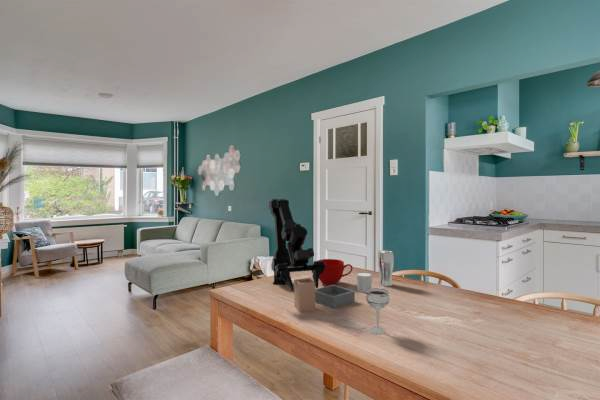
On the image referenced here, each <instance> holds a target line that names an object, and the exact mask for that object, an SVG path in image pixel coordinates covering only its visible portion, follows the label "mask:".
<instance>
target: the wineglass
mask: <svg viewBox="0 0 600 400" xmlns="http://www.w3.org/2000/svg"><path fill="white" fill-rule="evenodd" d="M389 293H390V291H389V290H388V289H385V288H380V287H379V288H377V287H371V289H368V290H367V295H366V296H365V299H366V302H367V304H368V305H369V306H370V307H371V308H373V309H374V310H376V311H375V312H376V326H373V327H370V328H369V329H368V330H369V332H370V333H371V334H375V335H383V334H385V333H387V330H386V329H385V328H383V327H379V321H380V320H379V319H380V310H382V309H384V308H386V306H388V304H389V302H390V296H389Z"/></svg>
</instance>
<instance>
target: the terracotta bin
mask: <svg viewBox="0 0 600 400" xmlns="http://www.w3.org/2000/svg"><path fill="white" fill-rule="evenodd" d="M293 281H294V282H293V283H294V284H293V288H294V291H293V292H294V293H293V294H294V297H293V299H294V300H293V301H294V307H295V309H296V310H297V312H299V313H302V312H309V311H310V312H311V311H316V302H315V289H316V287H315V282H314V280H313V279H311V278H310V277H309V278H298V279H296V278H295V279H294V280H293Z"/></svg>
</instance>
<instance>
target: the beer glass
mask: <svg viewBox="0 0 600 400" xmlns="http://www.w3.org/2000/svg"><path fill="white" fill-rule="evenodd" d="M394 257H395V256H394V251H392V250H386V249H385V250H384V249H382V250H378V252H377V268H378V273H379V281H378V285H379V286H381V287H392V286H393V283H394V282H393V272H394V271H393V270H394V264H395V262H394Z"/></svg>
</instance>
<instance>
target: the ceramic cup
mask: <svg viewBox="0 0 600 400" xmlns="http://www.w3.org/2000/svg"><path fill="white" fill-rule="evenodd" d="M317 261H324V262H325V265H326V267H325V269H324V271H323V273H322V274H320V276H319V281H320V282H321V283H322V285H324V286H330V285H336V286H337V284H338V283H339V282H340V281H341V279H342V278H343V277H346V276H348V275H350V274H351V273H352V271H353V270H354V268H353V265H351V264H350V263H349V264H348V263H347V264H345V262H344V260H341V259H335V258H334V259H332V258H326V259H325V258H323V259H319V260H317ZM346 267H350V270H349V271H348V272H347V273H344V270H345V268H346Z"/></svg>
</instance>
